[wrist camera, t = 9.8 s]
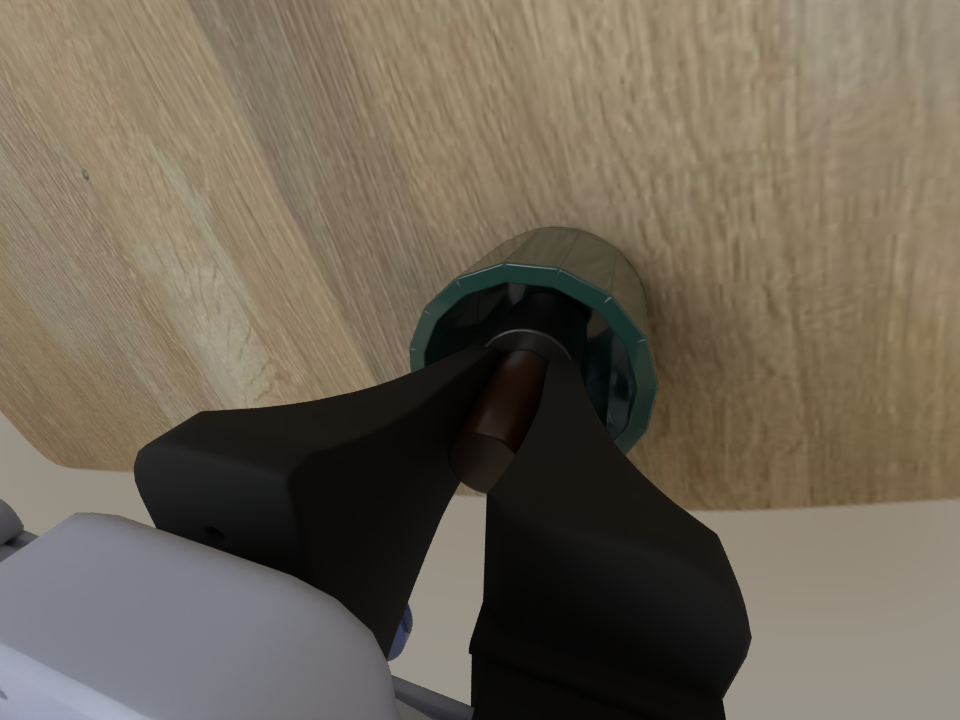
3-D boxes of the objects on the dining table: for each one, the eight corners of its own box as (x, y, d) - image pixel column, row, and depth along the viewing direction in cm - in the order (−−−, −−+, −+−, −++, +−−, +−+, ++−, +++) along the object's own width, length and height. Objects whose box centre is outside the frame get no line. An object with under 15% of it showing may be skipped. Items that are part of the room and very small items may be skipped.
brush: (581, 374, 14) (548, 533, 8) (503, 362, 15) (422, 500, 9) (593, 297, 13) (563, 420, 7) (507, 287, 14) (416, 392, 8)
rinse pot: (628, 405, 16) (628, 507, 12) (470, 377, 18) (415, 457, 13) (665, 233, 13) (685, 279, 9) (471, 220, 15) (402, 252, 10)
